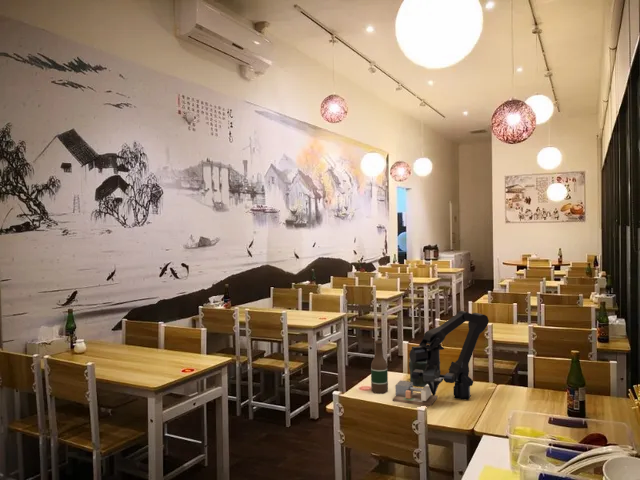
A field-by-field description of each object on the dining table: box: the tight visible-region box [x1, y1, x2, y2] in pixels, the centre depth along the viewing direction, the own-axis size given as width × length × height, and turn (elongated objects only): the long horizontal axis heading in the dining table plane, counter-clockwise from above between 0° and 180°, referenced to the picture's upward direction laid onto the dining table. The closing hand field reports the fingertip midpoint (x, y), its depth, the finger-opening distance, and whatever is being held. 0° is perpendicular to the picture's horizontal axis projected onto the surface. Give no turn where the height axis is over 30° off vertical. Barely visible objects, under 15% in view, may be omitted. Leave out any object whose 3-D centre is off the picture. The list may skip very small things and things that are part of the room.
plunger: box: [410, 384, 432, 401], centre depth 224 cm, size 9×10×4 cm
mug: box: [408, 358, 428, 388], centre depth 248 cm, size 11×15×12 cm
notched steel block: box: [395, 380, 414, 397], centre depth 228 cm, size 6×7×5 cm
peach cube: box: [406, 390, 411, 399], centre depth 223 cm, size 2×2×3 cm
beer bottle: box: [370, 339, 389, 395], centre depth 236 cm, size 8×8×24 cm
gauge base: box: [392, 391, 438, 407], centre depth 225 cm, size 17×12×1 cm
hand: (433, 395), depth 221 cm, fingers closed
